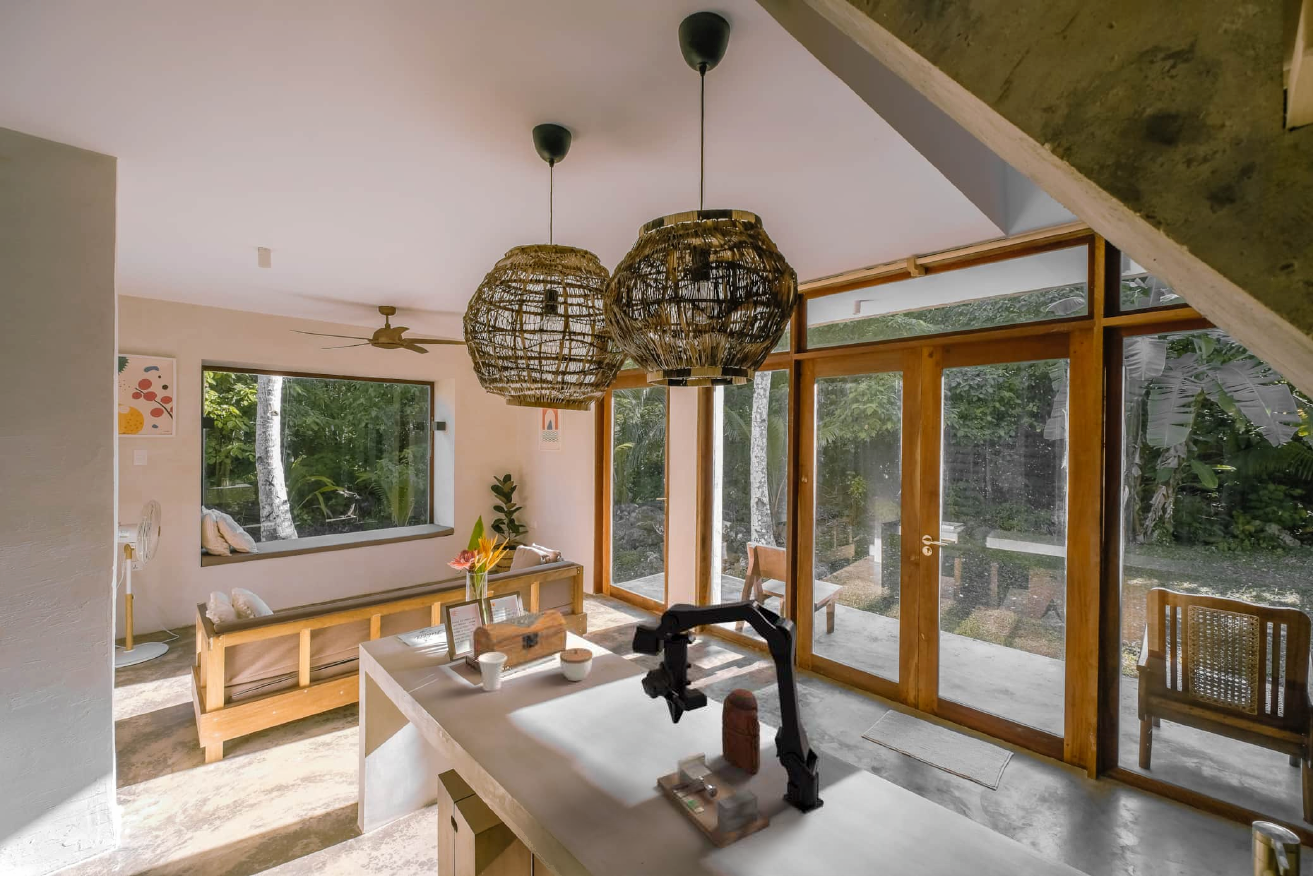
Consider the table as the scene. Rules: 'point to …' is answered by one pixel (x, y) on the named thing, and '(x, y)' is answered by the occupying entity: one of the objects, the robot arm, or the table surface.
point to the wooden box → (523, 637)
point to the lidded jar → (576, 663)
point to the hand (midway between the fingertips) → (675, 723)
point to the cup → (492, 669)
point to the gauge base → (717, 809)
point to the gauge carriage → (695, 774)
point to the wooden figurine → (741, 730)
